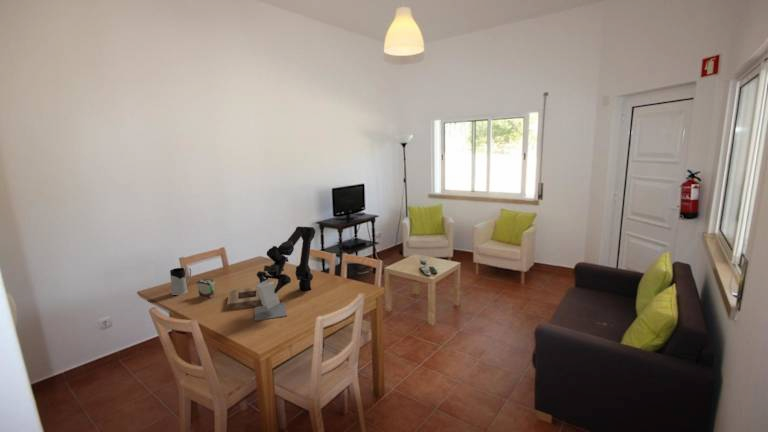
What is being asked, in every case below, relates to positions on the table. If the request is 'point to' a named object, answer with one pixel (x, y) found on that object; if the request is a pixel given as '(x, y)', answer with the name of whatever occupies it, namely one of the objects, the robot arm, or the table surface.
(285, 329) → the table surface
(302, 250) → the robot arm
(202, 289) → the alarm clock
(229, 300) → the pocket block
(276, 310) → the mat
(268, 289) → the supplement box
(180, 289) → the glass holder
